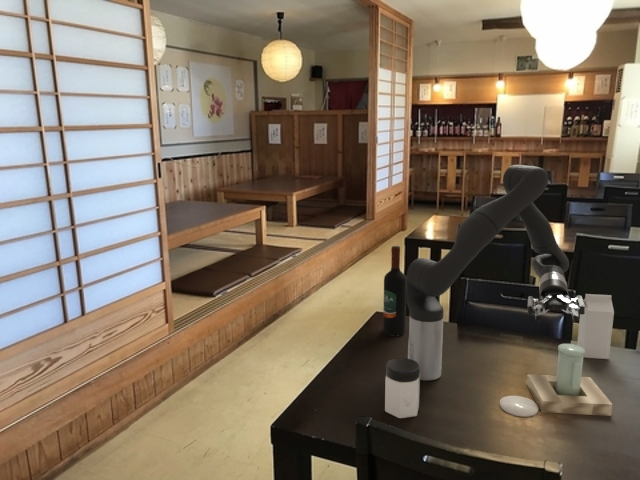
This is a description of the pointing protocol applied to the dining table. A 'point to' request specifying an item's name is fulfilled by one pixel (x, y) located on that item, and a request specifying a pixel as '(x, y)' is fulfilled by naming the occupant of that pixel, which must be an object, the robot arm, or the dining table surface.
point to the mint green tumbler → (569, 369)
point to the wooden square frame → (568, 397)
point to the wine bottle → (394, 297)
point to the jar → (402, 387)
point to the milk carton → (596, 326)
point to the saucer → (519, 406)
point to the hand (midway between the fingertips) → (556, 319)
